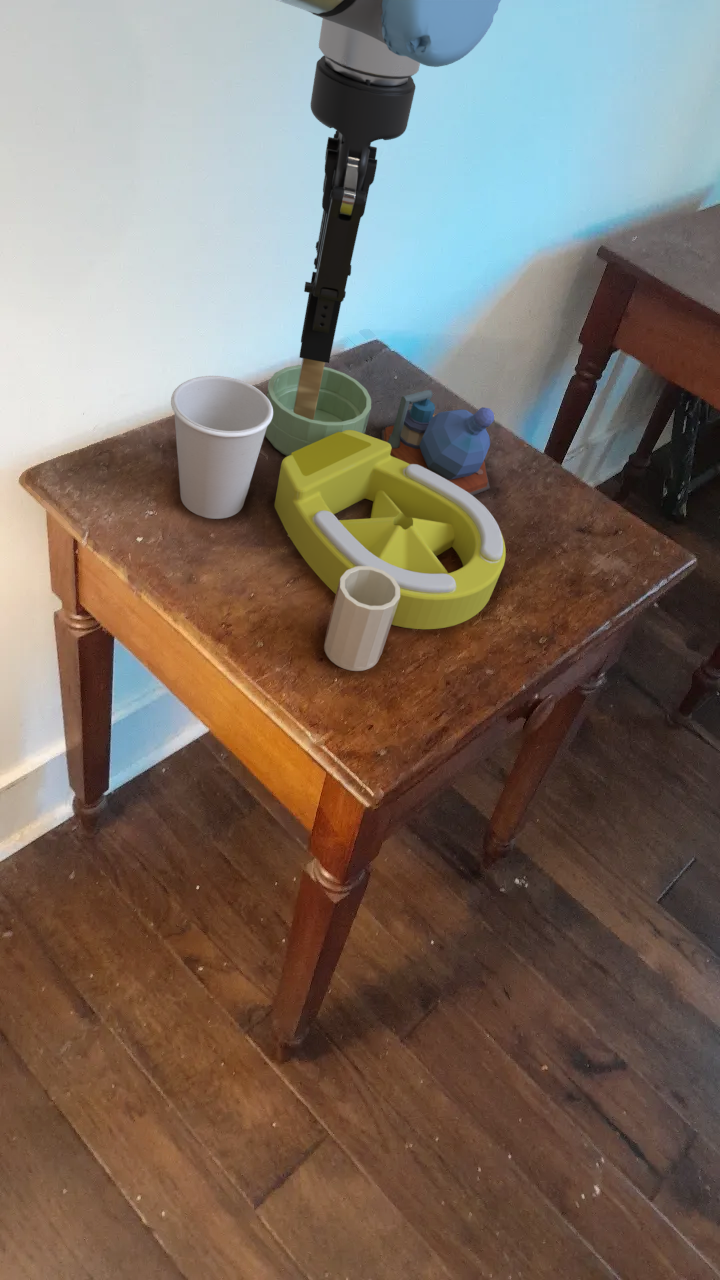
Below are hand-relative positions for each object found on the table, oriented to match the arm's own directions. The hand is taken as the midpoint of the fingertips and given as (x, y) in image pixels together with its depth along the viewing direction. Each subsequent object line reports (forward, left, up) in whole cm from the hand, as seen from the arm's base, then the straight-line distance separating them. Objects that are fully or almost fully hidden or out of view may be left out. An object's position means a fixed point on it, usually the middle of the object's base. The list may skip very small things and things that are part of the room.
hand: (315, 350), depth 86 cm
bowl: (+1, +1, -10) cm, 10 cm away
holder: (+6, -27, -10) cm, 30 cm away
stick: (0, 0, -8) cm, 8 cm away
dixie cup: (-7, -11, -10) cm, 17 cm away
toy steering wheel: (+9, -14, -10) cm, 19 cm away
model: (+14, 0, -10) cm, 17 cm away
